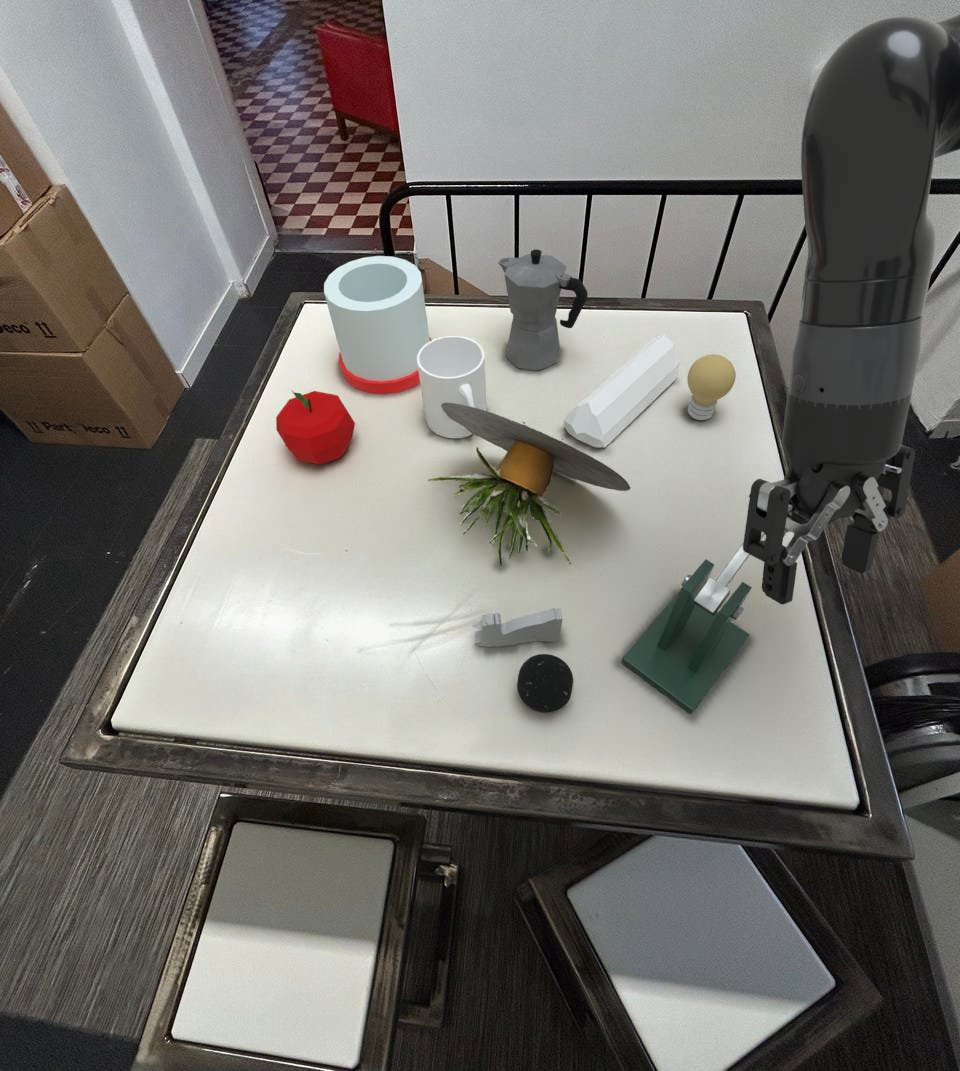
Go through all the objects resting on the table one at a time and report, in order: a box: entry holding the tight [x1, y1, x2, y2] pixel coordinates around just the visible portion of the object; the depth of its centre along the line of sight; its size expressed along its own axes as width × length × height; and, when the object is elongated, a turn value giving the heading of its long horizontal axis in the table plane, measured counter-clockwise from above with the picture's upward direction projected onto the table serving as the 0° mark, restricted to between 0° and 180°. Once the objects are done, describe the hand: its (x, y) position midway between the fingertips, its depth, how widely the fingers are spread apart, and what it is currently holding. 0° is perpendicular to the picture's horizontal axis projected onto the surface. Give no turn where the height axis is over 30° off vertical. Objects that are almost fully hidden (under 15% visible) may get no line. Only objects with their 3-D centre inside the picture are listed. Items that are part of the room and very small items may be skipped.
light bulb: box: [686, 353, 736, 421], centre depth 89 cm, size 6×6×10 cm
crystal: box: [563, 334, 681, 448], centre depth 92 cm, size 7×7×24 cm
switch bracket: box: [621, 558, 753, 715], centre depth 64 cm, size 12×9×14 cm
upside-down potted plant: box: [427, 403, 631, 567], centre depth 76 cm, size 25×18×25 cm
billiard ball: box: [516, 653, 575, 714], centre depth 65 cm, size 6×6×6 cm
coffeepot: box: [497, 248, 589, 372], centre depth 95 cm, size 15×9×18 cm, turn 55°
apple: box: [275, 390, 356, 465], centre depth 88 cm, size 11×11×10 cm
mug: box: [417, 335, 488, 439], centre depth 89 cm, size 10×12×12 cm
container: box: [323, 255, 433, 395], centre depth 97 cm, size 16×16×15 cm
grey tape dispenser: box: [471, 607, 564, 648], centre depth 69 cm, size 6×1×10 cm
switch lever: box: [694, 494, 807, 616], centre depth 60 cm, size 13×6×2 cm, turn 137°
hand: (817, 583), depth 50 cm, fingers open, 8 cm apart
